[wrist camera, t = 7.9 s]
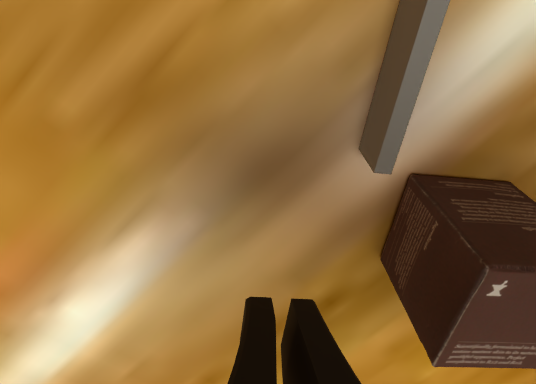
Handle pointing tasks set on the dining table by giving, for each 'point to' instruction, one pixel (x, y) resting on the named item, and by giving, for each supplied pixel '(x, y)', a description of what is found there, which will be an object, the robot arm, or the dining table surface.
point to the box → (467, 270)
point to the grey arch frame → (400, 80)
